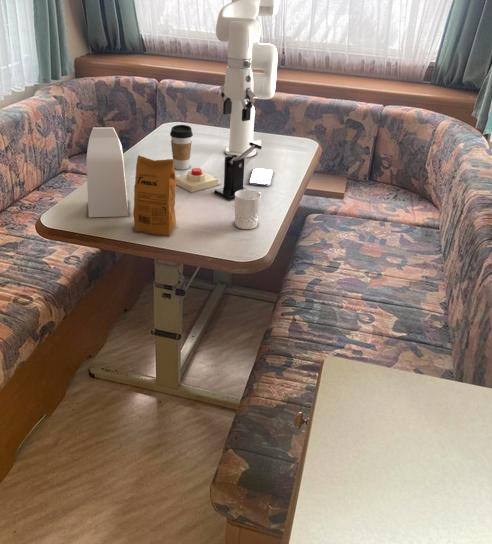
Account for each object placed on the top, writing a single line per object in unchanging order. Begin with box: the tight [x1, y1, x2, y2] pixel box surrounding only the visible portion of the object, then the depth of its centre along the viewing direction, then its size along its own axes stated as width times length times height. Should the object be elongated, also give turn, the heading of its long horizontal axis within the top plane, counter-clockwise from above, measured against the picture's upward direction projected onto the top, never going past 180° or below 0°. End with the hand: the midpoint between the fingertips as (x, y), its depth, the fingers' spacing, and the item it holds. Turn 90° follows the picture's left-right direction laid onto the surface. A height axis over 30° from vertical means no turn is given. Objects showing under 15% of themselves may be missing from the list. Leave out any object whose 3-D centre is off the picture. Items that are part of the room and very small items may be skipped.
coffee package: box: [133, 154, 177, 236], centre depth 166 cm, size 10×12×22 cm
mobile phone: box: [248, 168, 274, 187], centre depth 210 cm, size 8×1×15 cm
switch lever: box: [229, 142, 262, 168], centre depth 193 cm, size 12×5×2 cm, turn 130°
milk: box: [85, 126, 129, 218], centre depth 176 cm, size 12×12×26 cm
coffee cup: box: [169, 124, 194, 171], centre depth 214 cm, size 8×8×15 cm
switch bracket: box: [213, 155, 248, 201], centre depth 194 cm, size 10×8×13 cm
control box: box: [175, 170, 219, 193], centre depth 203 cm, size 12×10×4 cm
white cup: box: [234, 188, 262, 230], centre depth 174 cm, size 8×8×10 cm
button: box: [191, 167, 203, 176], centre depth 201 cm, size 4×4×2 cm
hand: (236, 117), depth 192 cm, fingers open, 9 cm apart
